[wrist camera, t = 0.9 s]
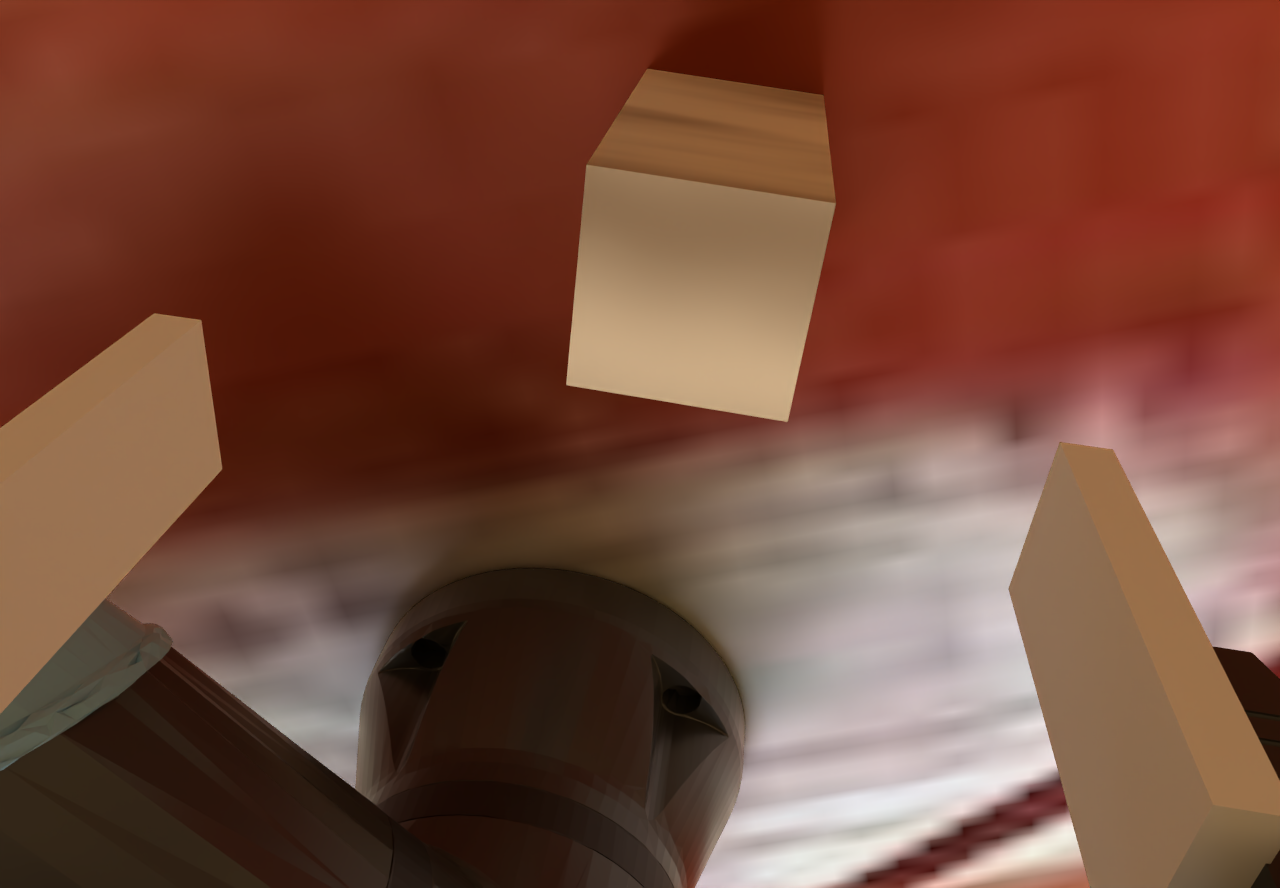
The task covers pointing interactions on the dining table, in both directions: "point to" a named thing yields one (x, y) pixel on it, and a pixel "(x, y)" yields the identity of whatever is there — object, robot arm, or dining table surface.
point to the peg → (702, 245)
